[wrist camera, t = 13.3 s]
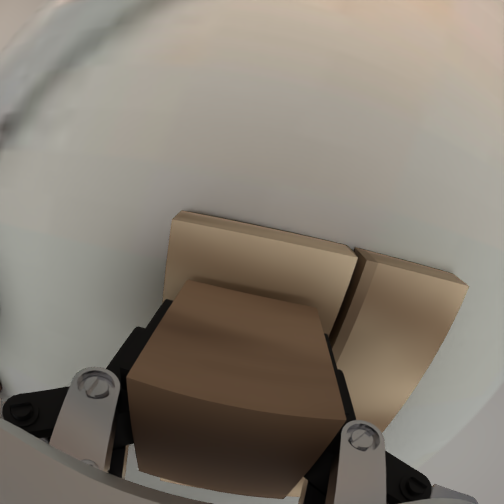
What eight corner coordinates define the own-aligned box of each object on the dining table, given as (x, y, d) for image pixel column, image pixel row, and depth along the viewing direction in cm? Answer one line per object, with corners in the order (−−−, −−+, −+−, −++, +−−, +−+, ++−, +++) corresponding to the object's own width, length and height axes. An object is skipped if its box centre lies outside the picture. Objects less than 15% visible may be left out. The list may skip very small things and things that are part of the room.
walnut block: (281, 396, 11) (283, 498, 6) (176, 374, 11) (139, 470, 6) (316, 307, 10) (346, 419, 5) (187, 279, 10) (126, 376, 5)
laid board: (319, 482, 18) (321, 497, 16) (253, 478, 18) (252, 493, 16) (452, 273, 12) (469, 286, 10) (355, 247, 12) (366, 260, 10)
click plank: (248, 477, 18) (248, 493, 16) (163, 464, 17) (160, 480, 16) (346, 245, 12) (360, 258, 10) (181, 210, 11) (172, 219, 10)
